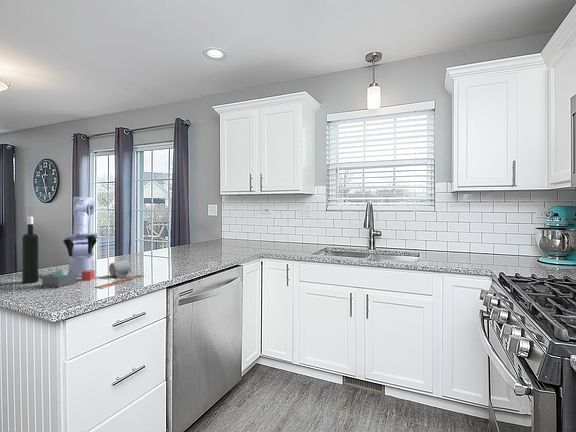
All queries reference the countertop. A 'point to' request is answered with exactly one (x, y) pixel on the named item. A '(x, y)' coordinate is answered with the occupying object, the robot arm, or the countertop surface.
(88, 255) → the robot arm
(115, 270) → the ceramic mug
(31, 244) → the wine bottle
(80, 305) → the countertop surface
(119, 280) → the tile track
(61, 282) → the dome housing
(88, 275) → the die
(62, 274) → the dome
